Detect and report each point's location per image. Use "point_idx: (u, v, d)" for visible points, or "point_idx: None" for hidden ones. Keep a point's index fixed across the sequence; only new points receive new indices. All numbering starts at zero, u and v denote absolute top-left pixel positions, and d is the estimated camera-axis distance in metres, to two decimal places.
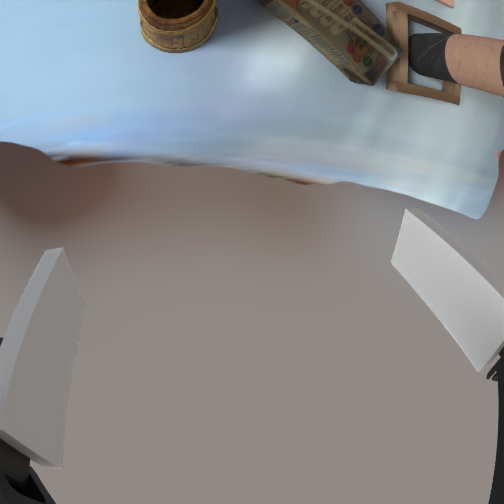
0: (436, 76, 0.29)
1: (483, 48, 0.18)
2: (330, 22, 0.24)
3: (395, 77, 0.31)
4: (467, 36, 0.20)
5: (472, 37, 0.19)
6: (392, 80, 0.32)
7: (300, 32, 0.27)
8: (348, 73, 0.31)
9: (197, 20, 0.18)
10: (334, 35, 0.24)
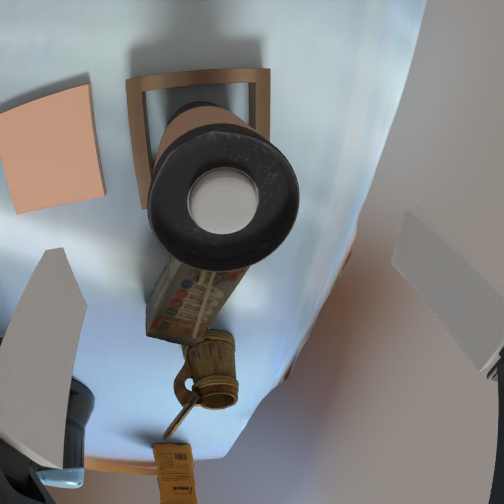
0: None
1: None
2: (212, 299, 0.36)
3: None
4: None
5: None
6: None
7: None
8: None
9: (233, 387, 0.41)
10: (224, 293, 0.36)
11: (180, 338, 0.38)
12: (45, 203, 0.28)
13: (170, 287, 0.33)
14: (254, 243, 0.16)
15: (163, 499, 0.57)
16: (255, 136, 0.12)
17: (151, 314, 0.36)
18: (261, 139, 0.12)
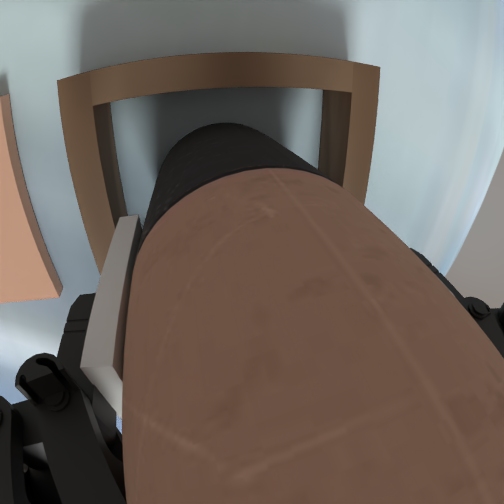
0: None
1: None
2: None
3: None
4: None
5: None
6: None
7: None
8: None
9: None
10: None
11: None
12: None
13: None
14: None
15: None
16: None
17: None
18: None
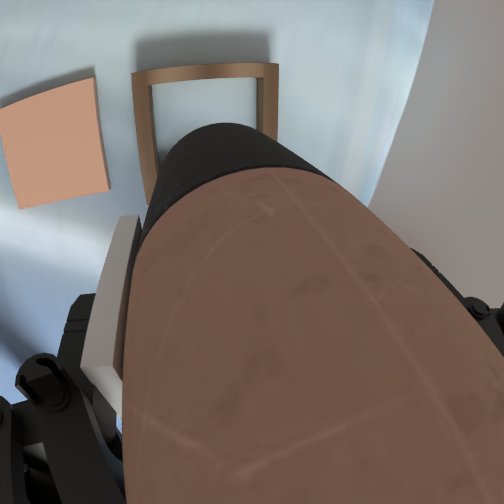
0: None
1: None
2: None
3: None
4: None
5: None
6: None
7: None
8: None
9: None
10: None
11: None
12: (48, 198, 0.28)
13: None
14: None
15: None
16: None
17: None
18: None
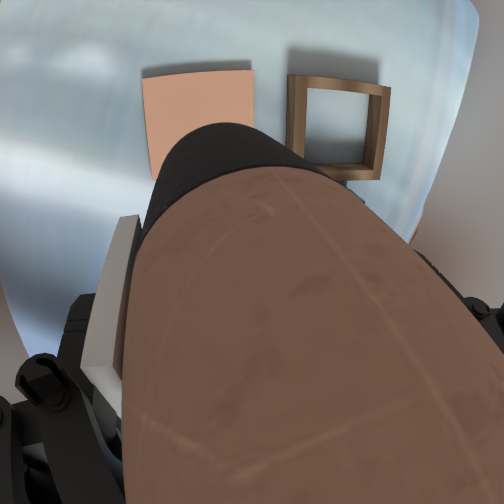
0: None
1: None
2: None
3: None
4: None
5: None
6: None
7: None
8: None
9: None
10: None
11: None
12: None
13: None
14: None
15: None
16: None
17: None
18: None
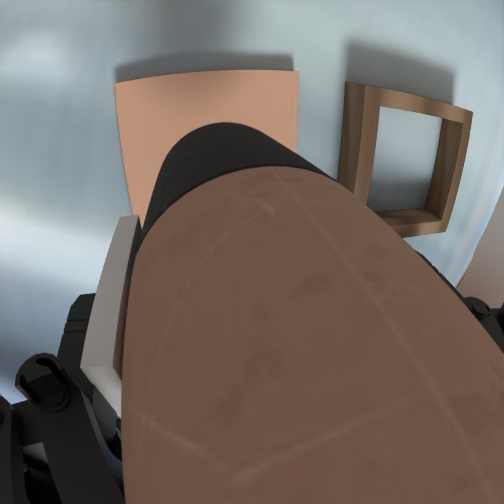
0: None
1: None
2: None
3: None
4: None
5: None
6: None
7: None
8: None
9: None
10: None
11: None
12: None
13: None
14: None
15: None
16: None
17: None
18: None
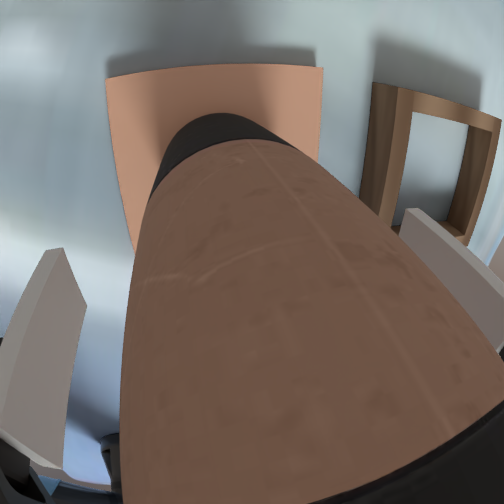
0: None
1: None
2: None
3: None
4: None
5: None
6: None
7: None
8: None
9: None
10: None
11: None
12: None
13: None
14: None
15: None
16: None
17: None
18: None
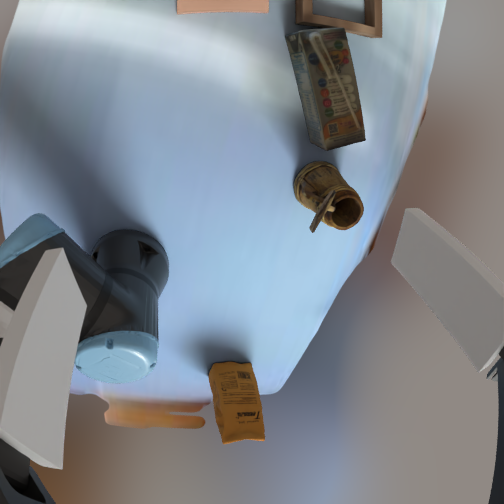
0: None
1: None
2: (347, 85, 0.36)
3: (369, 35, 0.35)
4: None
5: None
6: (369, 35, 0.35)
7: None
8: None
9: None
10: (350, 76, 0.35)
11: (351, 135, 0.40)
12: (212, 7, 0.30)
13: (314, 92, 0.36)
14: None
15: (226, 429, 0.59)
16: None
17: (318, 131, 0.41)
18: None
